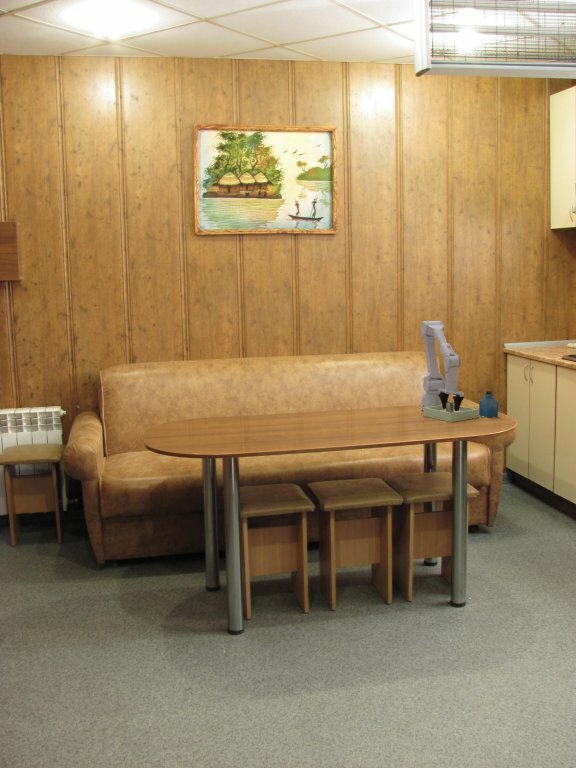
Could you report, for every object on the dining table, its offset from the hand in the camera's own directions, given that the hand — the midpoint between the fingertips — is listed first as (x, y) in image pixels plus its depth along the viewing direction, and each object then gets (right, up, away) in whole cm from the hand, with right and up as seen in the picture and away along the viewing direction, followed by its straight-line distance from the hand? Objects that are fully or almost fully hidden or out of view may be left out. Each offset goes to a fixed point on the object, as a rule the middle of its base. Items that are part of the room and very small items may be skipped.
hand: (450, 409), depth 379 cm
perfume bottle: (+18, -3, +2) cm, 19 cm away
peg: (-1, -3, 0) cm, 3 cm away
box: (0, -3, 0) cm, 3 cm away
